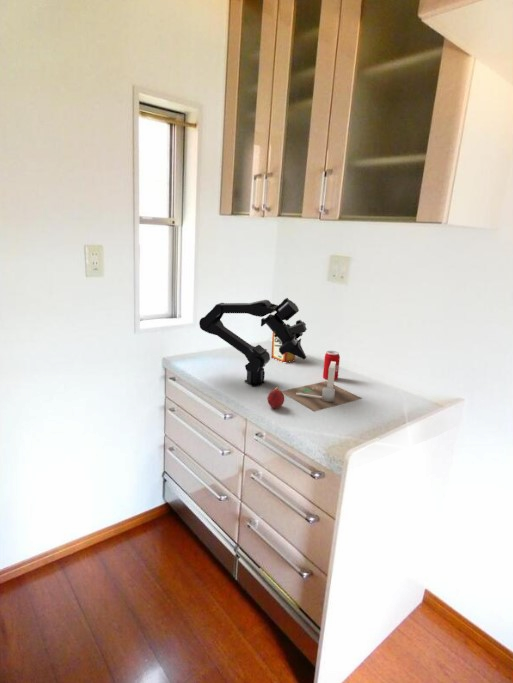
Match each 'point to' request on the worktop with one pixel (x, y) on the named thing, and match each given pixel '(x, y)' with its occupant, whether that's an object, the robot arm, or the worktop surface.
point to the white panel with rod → (329, 390)
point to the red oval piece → (275, 398)
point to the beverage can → (328, 358)
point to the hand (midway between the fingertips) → (305, 358)
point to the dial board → (317, 389)
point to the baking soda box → (276, 354)
